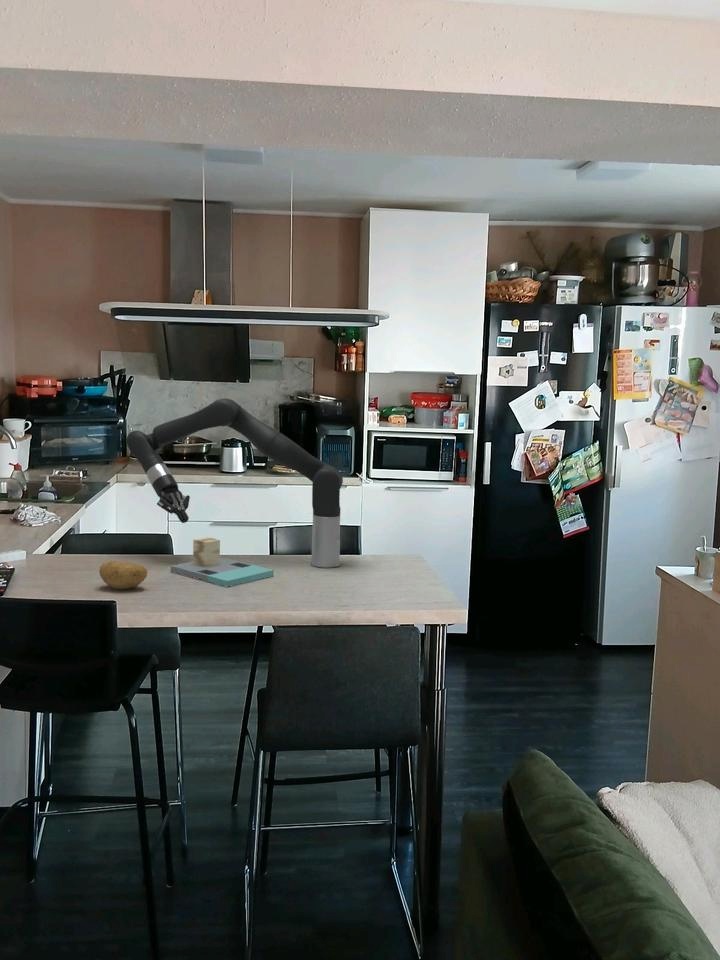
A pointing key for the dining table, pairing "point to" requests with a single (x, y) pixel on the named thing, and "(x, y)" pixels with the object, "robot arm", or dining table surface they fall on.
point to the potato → (122, 574)
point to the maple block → (206, 551)
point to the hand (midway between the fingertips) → (185, 521)
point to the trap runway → (224, 572)
